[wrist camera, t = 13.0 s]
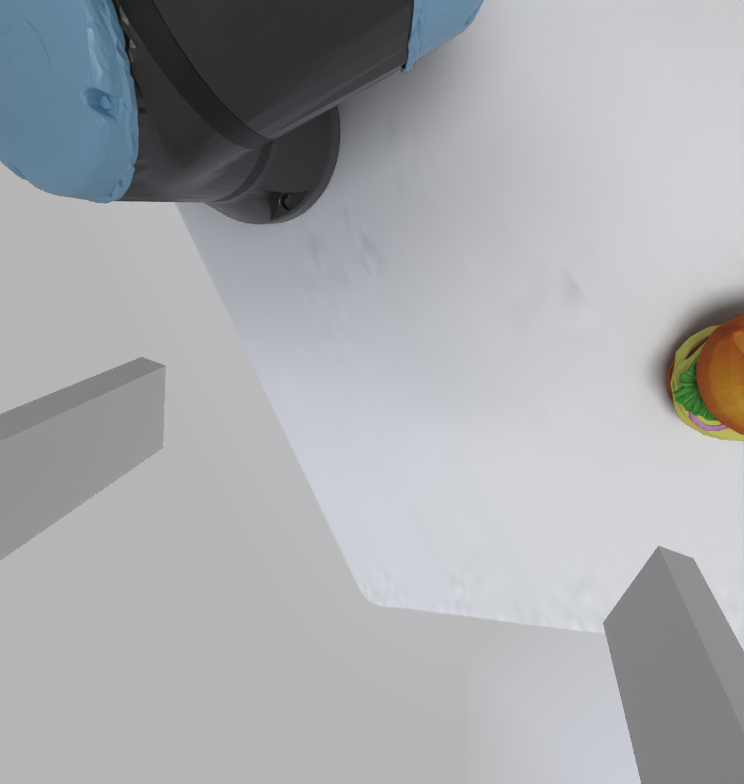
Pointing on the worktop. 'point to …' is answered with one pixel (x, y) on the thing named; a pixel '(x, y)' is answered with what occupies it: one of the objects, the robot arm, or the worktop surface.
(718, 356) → the cheeseburger
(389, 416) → the worktop surface
